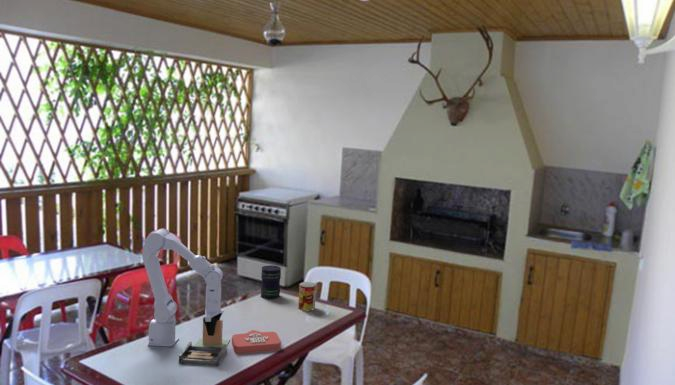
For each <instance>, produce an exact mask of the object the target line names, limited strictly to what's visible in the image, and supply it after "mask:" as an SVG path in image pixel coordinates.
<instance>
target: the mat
mask: <svg viewBox="0 0 675 385" xmlns="http://www.w3.org/2000/svg"><path fill="white" fill-rule="evenodd" d="M230 342H231V340H229V339H222V344H221V345H208V344H203V337H201V338H199V340H197V342H196V343H195V344H194V346H207V347H223V345H224V344H226V348H228V345H229V343H230Z"/></svg>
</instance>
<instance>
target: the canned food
mask: <svg viewBox="0 0 675 385" xmlns="http://www.w3.org/2000/svg"><path fill="white" fill-rule="evenodd" d="M316 286H317V284H316V283H315V282H310V281H303V282H300V283H299V291H298V310H299V309H300V311H301V310H304V311H303V312H308V311H307V310H312V309H314V308H316V291H317V289H316V288H317V287H316ZM314 310H315V309H314Z"/></svg>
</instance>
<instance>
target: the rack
mask: <svg viewBox="0 0 675 385" xmlns="http://www.w3.org/2000/svg"><path fill="white" fill-rule="evenodd" d="M192 352H198V353H211V356H212V357H213V358H215V359H213V360H198V359H187V357H188V355H191V353H192ZM225 354H227V347H226V344H224V345H223V347H207V346H195V345H193V342H192V341H189V342H188V343H187V344H186V346H185V347H184V348H183V350H182V351H181V352H180V353H179V355H178V364H179V365H181V364H182V365H192V366H193V365H194V366H195V365H197V366H210V367H211V366H213V367H219V364H220V363H221V362H222V360H223V359H224V356H225Z"/></svg>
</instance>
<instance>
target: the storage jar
mask: <svg viewBox="0 0 675 385" xmlns="http://www.w3.org/2000/svg"><path fill="white" fill-rule="evenodd" d="M281 269H282V268H281V266H278V265H274V264H273V265H264V266H262V267H261V273H260V274H261V276H260V277H261V286H260V298H262V299H264V300H277V299H279V298H280V294H281V278H282V273H281V272H282V270H281Z"/></svg>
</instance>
